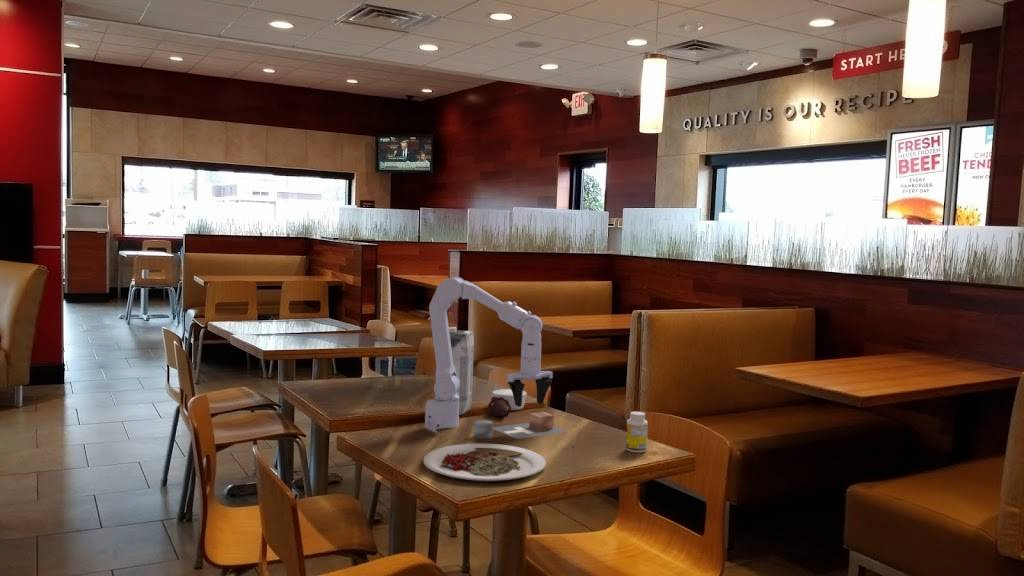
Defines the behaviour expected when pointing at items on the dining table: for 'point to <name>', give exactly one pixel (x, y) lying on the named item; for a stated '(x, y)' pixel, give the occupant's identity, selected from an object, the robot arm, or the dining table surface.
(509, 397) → the ramekin
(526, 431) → the board
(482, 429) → the slate cylinder
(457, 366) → the juice carton
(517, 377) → the robot arm
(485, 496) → the dining table surface
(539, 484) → the dining table surface
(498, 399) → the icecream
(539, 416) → the terracotta block
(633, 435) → the supplement bottle
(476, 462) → the plated food
